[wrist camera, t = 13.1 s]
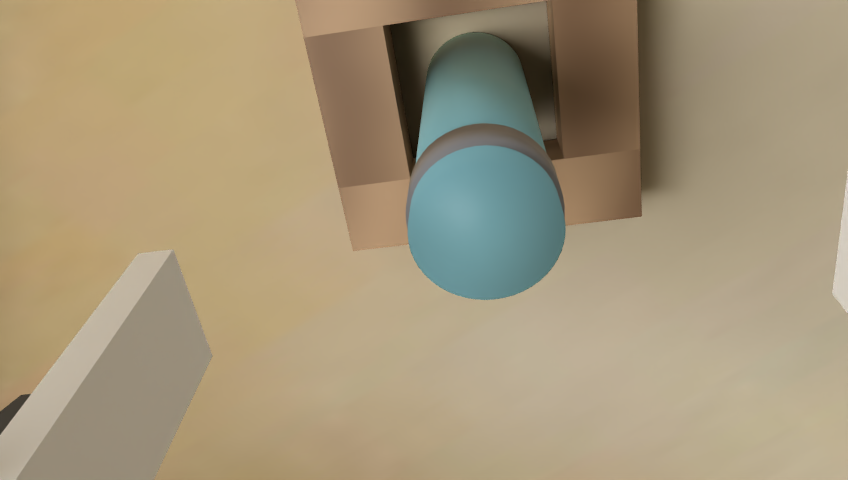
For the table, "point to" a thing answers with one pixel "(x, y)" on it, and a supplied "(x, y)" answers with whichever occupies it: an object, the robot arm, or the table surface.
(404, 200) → the square hole plate
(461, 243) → the banded teal cylinder
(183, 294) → the robot arm
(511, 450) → the table surface
